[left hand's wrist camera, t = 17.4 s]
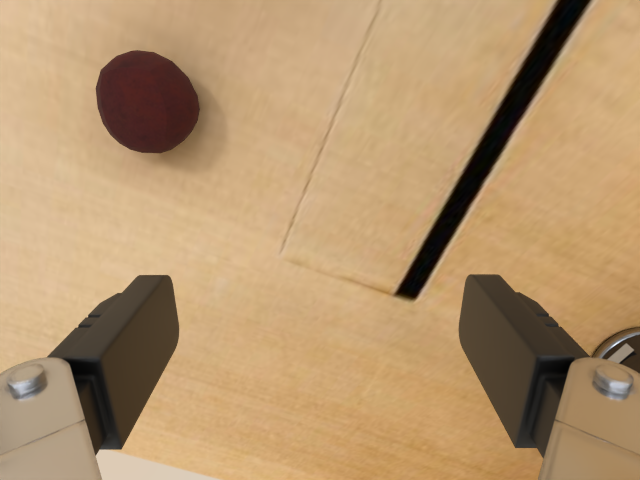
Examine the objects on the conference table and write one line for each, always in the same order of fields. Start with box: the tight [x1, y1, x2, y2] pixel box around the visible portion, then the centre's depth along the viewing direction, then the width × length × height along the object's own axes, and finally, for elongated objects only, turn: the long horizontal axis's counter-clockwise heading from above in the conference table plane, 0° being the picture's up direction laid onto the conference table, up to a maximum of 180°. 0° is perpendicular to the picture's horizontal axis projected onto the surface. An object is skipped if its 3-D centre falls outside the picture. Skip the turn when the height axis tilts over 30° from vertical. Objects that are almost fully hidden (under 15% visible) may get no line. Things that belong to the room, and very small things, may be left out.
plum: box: [96, 50, 200, 153], centre depth 32 cm, size 7×8×7 cm
